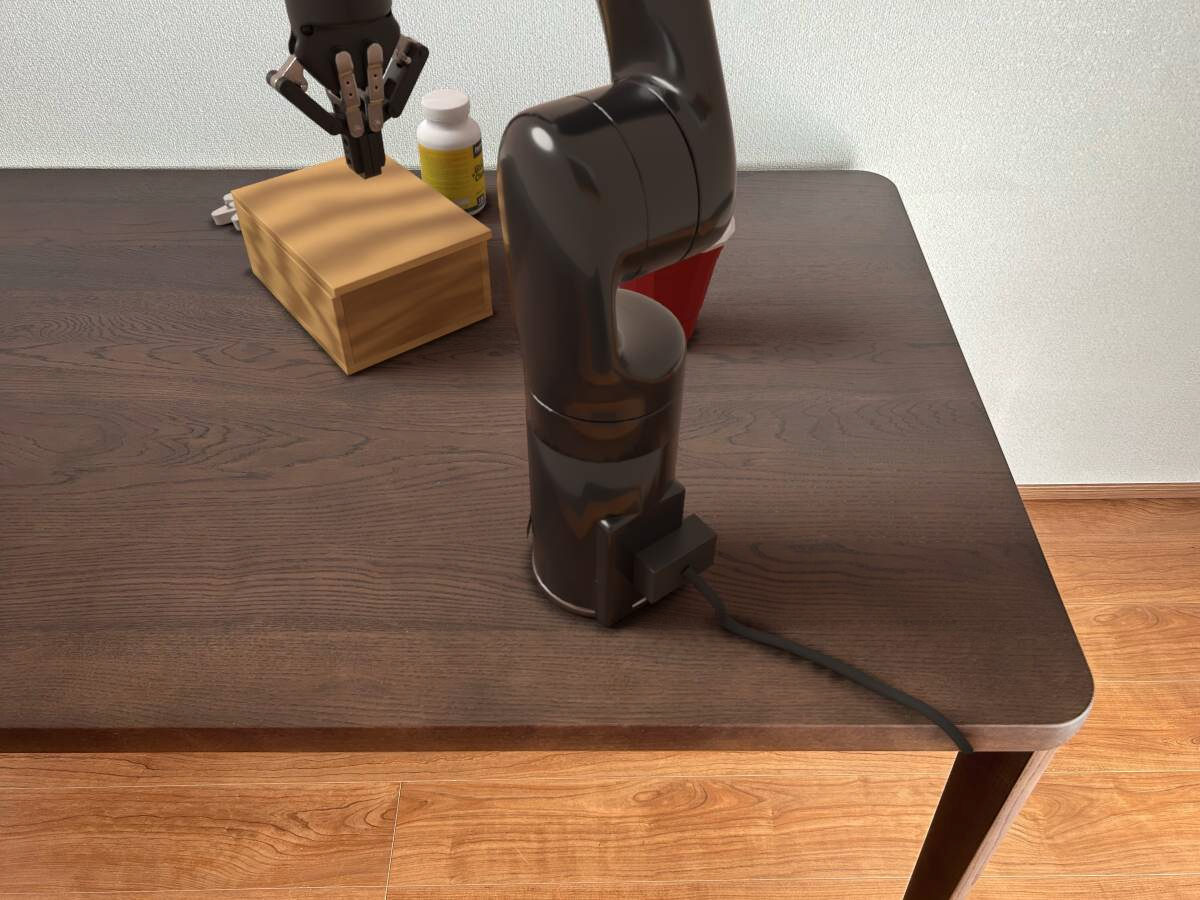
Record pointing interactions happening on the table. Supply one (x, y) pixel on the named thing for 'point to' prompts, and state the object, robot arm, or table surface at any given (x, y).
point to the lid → (359, 222)
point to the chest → (374, 300)
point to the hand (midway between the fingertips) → (368, 173)
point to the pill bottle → (452, 149)
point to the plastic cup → (683, 283)
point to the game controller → (227, 213)
